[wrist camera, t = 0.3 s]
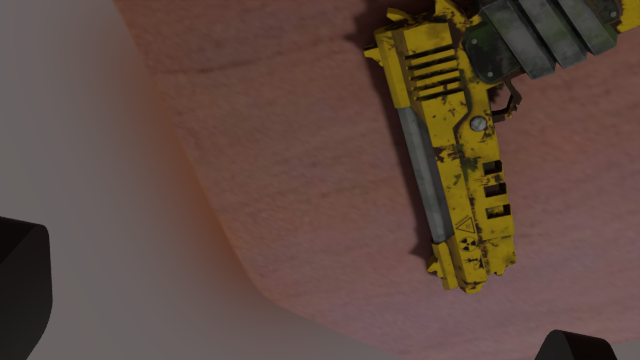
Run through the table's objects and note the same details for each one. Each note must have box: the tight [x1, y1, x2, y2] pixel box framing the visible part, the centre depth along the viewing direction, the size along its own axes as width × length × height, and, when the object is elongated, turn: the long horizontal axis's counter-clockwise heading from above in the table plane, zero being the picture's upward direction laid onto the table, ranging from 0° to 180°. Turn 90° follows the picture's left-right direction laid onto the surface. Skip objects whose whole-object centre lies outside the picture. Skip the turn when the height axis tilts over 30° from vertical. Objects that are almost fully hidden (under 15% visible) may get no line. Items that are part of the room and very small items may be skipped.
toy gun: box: [364, 0, 640, 294], centre depth 36 cm, size 4×21×15 cm
